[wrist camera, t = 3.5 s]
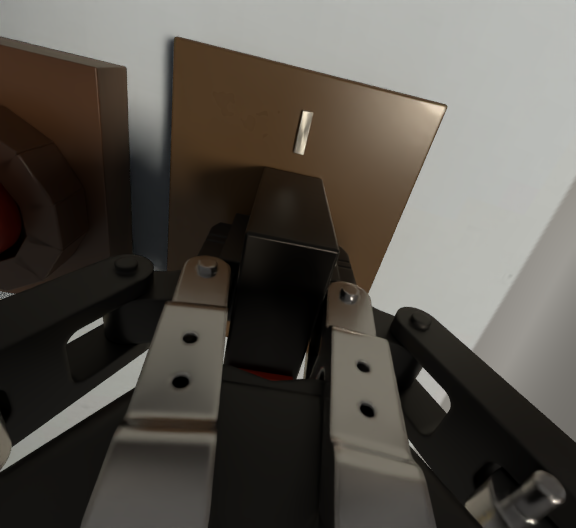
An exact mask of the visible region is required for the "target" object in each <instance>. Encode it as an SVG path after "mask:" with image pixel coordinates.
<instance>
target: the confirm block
mask: <svg viewBox="0 0 576 528" xmlns="http://www.w3.org/2000/svg"><path fill="white" fill-rule="evenodd" d="M0 182H1V184H2V185H3V186H4V188H5V189H6V190H7V191H8V193H9V194H10V195H11V197H12V198H13V199H14V201H15V203H16V204H17V207H18V209H19V212H20V215H21V221H22V229H21V233H20V236H19V238H18V240H17V241H16V243H15V244H14V245H13V246H11V247H10V248H8V249H7V250H5V251H4V252H2V253H1V254H0V291H2V292H8V293H14V294H17V293H19V292H22V291H25V290H27V289H30V288H32V287H35V286H37V285H40V284H42V283H45V282H47V281H50V280H52V279H55V278H58V277H60V276H63V275H65V274H68V273H70V272H73V271H75V270H78V269H80V268H83V267H85V266H88V265H91V264H93V263H96V262H98V261H101V260H103V259H106V258H108V257H111V256H115V255H121V254H133V247H132V217H131V187H130V157H129V127H128V97H127V68H126V67H124V66H120V65H116V64H112V63H108V62H104V61H99V60H95V59H91V58H87V57H83V56H79V55H74V54H70V53H66V52H62V51H58V50H54V49H50V48H45V47H41V46H37V45H33V44H29V43H25V42H20V41H16V40H12V39H8V38H4V37H0Z"/></svg>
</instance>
